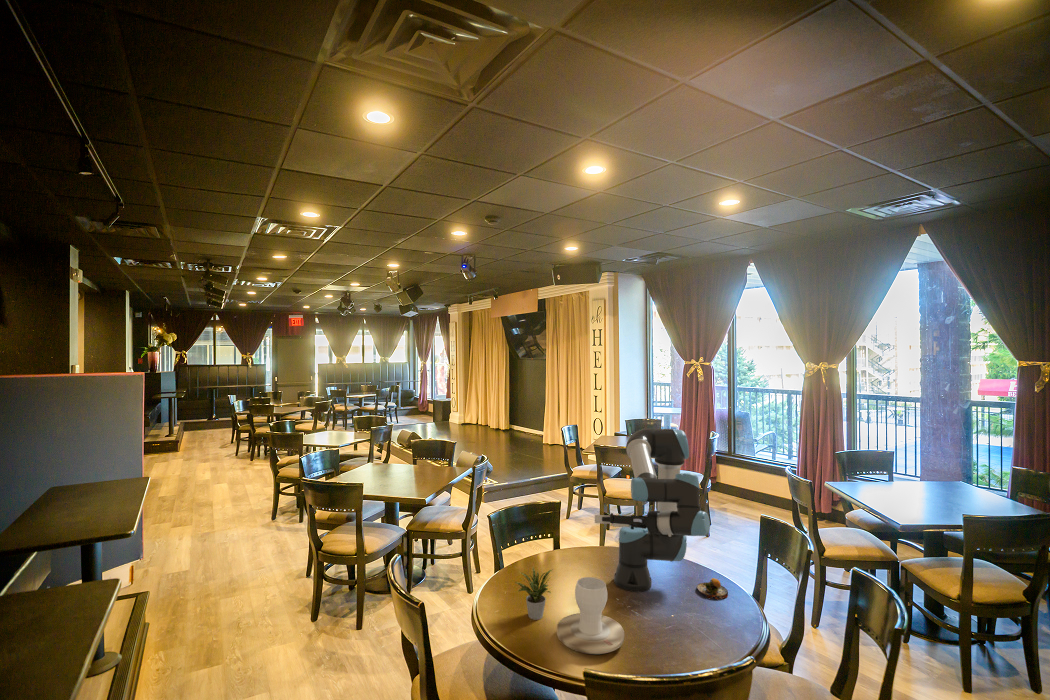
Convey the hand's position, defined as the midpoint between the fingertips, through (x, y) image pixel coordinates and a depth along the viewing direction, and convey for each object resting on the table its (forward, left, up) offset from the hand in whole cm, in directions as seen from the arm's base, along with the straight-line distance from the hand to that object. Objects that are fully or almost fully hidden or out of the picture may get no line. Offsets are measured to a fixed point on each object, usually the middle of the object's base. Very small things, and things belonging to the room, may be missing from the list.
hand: (604, 520), depth 181 cm
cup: (+9, -13, -31) cm, 35 cm away
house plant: (-14, -19, -35) cm, 42 cm away
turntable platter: (+9, -13, -33) cm, 36 cm away
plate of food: (+7, +51, -35) cm, 62 cm away
